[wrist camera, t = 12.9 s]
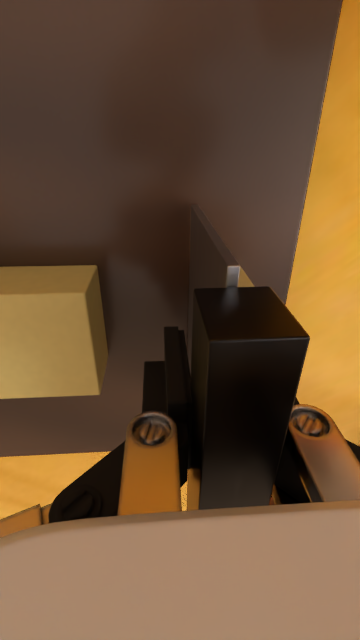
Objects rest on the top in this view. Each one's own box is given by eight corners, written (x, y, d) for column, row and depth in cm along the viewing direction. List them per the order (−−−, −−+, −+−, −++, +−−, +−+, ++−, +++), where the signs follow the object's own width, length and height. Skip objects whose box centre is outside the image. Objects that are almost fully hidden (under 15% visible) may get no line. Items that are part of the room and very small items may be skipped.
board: (-221, -30, 10) (-263, -49, 9) (331, -10, 11) (348, -25, 10) (-17, 442, 21) (-26, 458, 20) (254, 429, 22) (259, 444, 21)
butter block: (-67, 267, 14) (-117, 297, 12) (97, 264, 15) (84, 292, 12) (-31, 360, 17) (-65, 402, 14) (108, 355, 17) (100, 395, 14)
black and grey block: (172, 204, 13) (210, 315, 5) (216, 204, 13) (317, 311, 5) (173, 391, 18) (193, 592, 10) (205, 389, 18) (249, 586, 10)
